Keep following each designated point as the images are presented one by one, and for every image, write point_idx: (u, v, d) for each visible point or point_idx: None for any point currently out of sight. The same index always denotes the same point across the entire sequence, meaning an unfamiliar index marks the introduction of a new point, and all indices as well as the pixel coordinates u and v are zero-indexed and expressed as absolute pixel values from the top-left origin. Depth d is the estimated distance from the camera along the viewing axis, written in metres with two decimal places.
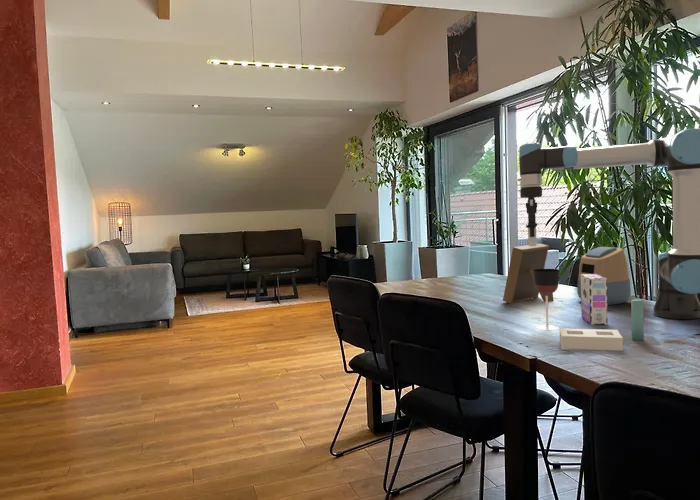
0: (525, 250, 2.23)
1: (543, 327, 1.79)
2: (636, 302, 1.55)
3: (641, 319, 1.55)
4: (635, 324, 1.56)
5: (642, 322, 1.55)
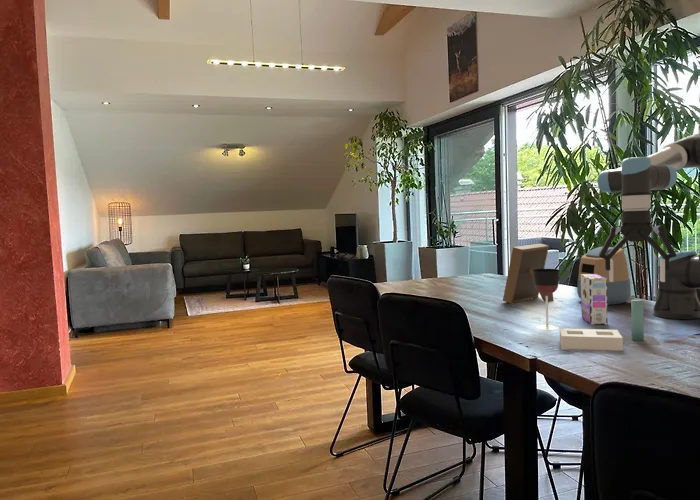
0: (525, 250, 2.23)
1: (543, 327, 1.79)
2: (636, 302, 1.55)
3: (641, 319, 1.55)
4: (635, 324, 1.56)
5: (642, 322, 1.55)
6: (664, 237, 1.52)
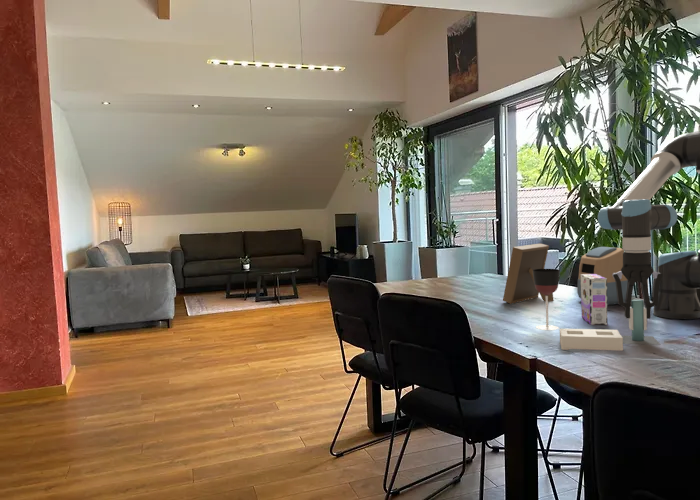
0: (525, 250, 2.23)
1: (543, 327, 1.79)
2: (636, 302, 1.55)
3: (641, 319, 1.55)
4: (635, 324, 1.56)
5: (642, 322, 1.55)
6: (657, 285, 1.53)
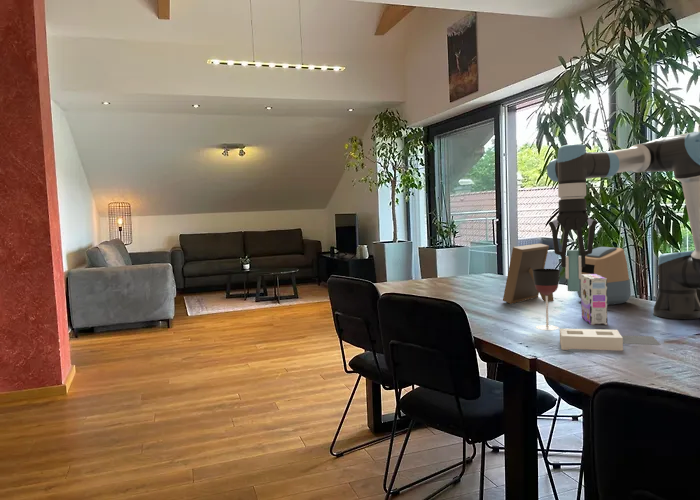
0: (525, 250, 2.23)
1: (543, 327, 1.79)
2: (571, 251, 1.52)
3: (576, 269, 1.52)
4: (570, 274, 1.53)
5: (577, 272, 1.53)
6: (592, 232, 1.50)
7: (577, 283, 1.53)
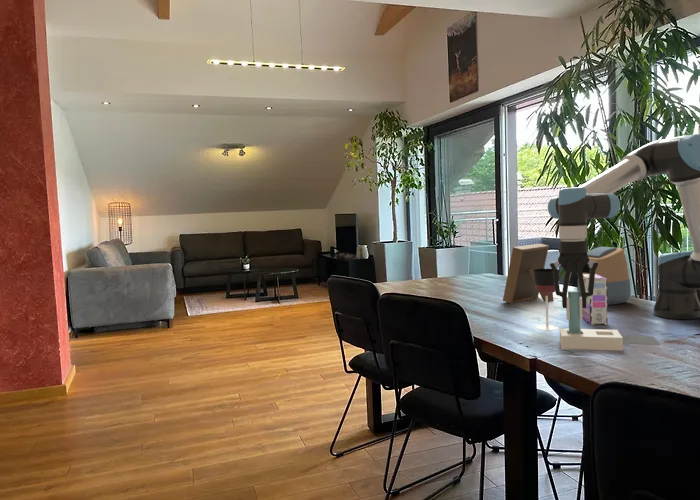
0: (525, 250, 2.23)
1: (543, 327, 1.79)
2: (572, 293, 1.53)
3: (577, 310, 1.53)
4: (571, 316, 1.54)
5: (578, 313, 1.53)
6: (593, 274, 1.51)
7: (578, 324, 1.54)
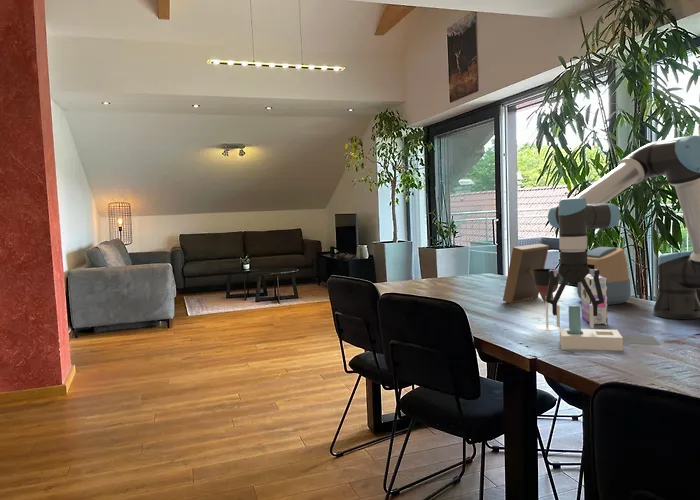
0: (525, 250, 2.23)
1: (543, 327, 1.79)
2: (572, 308, 1.54)
3: (578, 325, 1.54)
4: (571, 330, 1.54)
5: (579, 328, 1.54)
6: (597, 282, 1.51)
7: None
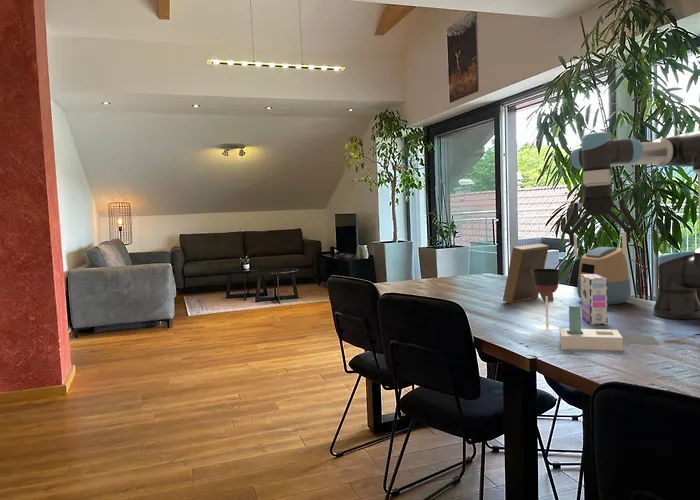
0: (525, 250, 2.23)
1: (543, 327, 1.79)
2: (573, 308, 1.53)
3: (578, 325, 1.54)
4: (572, 330, 1.54)
5: (579, 328, 1.54)
6: (625, 210, 1.55)
7: None
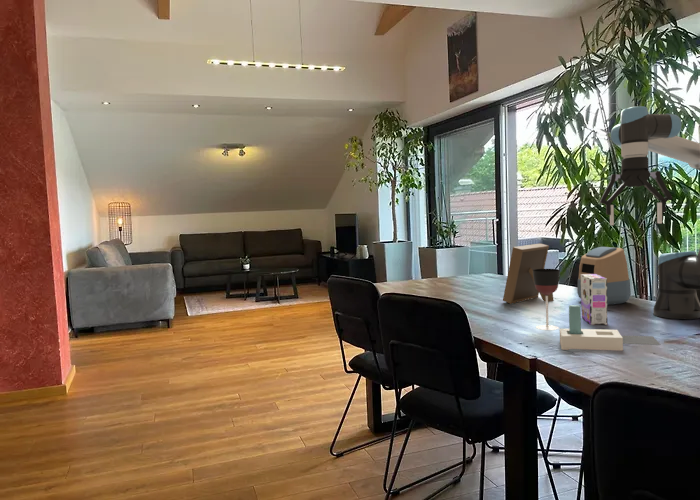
0: (525, 250, 2.23)
1: (543, 327, 1.79)
2: (573, 308, 1.53)
3: (578, 325, 1.54)
4: (572, 330, 1.54)
5: (579, 328, 1.54)
6: (661, 181, 1.62)
7: None
